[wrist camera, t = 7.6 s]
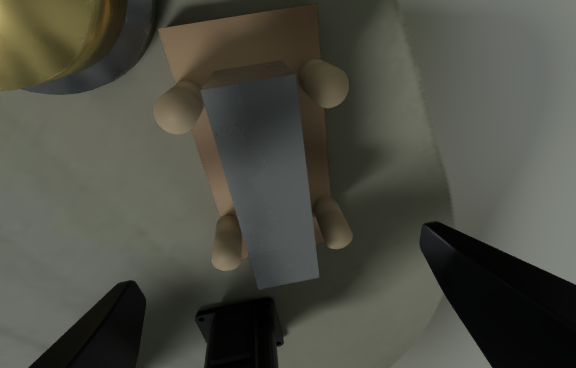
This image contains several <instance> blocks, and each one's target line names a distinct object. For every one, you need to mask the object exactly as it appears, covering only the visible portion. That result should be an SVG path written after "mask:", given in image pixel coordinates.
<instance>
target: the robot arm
mask: <svg viewBox="0 0 576 368" xmlns="http://www.w3.org/2000/svg"><path fill="white" fill-rule="evenodd" d="M420 248H421V251H422V253H423V255H424V257H425V258H426V260H427V262H428V264H429V266H430V268H431V270H432V272H433V274H434V276H435V278H436V280H437V282H438V284H439V285H440V287H441V289H442V291H443V293H444V294H445V296H446V298H447V299H448V301H449V302H450V304H451V305H452V307H453V308H454V310H455V311H456V313H457V315H458V316H459V318H460V319H461V321H462V322H463V324H464V325H465V327H466V328H467V330H468V331H469V333H470V334H471V336H472V337H473V339H474V340H475V342H476V343H477V345H478V347H479V348H480V350H481V351H482V353H483V354H484V356H485V357H486V359H487V360H488V362H489V363H490V365H491V366H492V368H576V285H575V284H573V283H570V282H569V281H566V280H564V279H562V278H560V277H558V276H555V275H553V274H551V273H549V272H547V271H544V270H542V269H540V268H538V267H536V266H534V265H531V264H529V263H527V262H525V261H522V260H521V259H518V258H516V257H514V256H512V255H510V254H508V253H505V252H503V251H501V250H499V249H497V248H494V247H492V246H490V245H488V244H486V243H484V242H481V241H479V240H477V239H475V238H472V237H470V236H468V235H466V234H464V233H462V232H460V231H457V230H455V229H453V228H451V227H449V226H446V225H444V224H442V223H440V222H437V221H433V222H428V223H424V224H423V225H422V229H421V236H420ZM145 308H146V299H145V296H144V294H143V293H142V291H141V290H140V288H139V286H138V285H137V283H136V282H135V281H133V280H130V281H124V282H120V283H118V284H117V285H115V286H114V287H113V288H112V289H111V290H110V291H109V292H108V293H107V294H106V295H105V296H104V297H103V298H102V299H101V300H100V301H99V302H97V303H96V304H95V305H94V306H93V307H92V308H91V309H90V310H89V311H88V312H87V313H86V314H85V315H84V316H83V317H82V318H81V319H79V320H78V321H77V322H76V323H75V324H74V325H73V326H72V327H71V328H70V329H69V330H68V331H67V332H66V333H65V334H64V335H62V336H61V337H60V338H59V339H58V340H57V341H56V342H55V343H54V344H53V345H52V346H51V347H50V348H49V349H48V350H47V351H46V352H44V353H43V354H42V355H41V356H40V357H39V358H38V359H37V360H36V361H35V362H34V363H33V364H32V365H31V366H30V367H29V368H135V366H136V362H137V357H138V352H139V347H140V340H141V334H142V328H143V321H144V315H145ZM195 321H196V323H197V325H198V327H199V329H200V331H201V333H202V335H203V337H204V339H205V341H206V343H207V348H206V356H205V364H204V368H279V367H278V356H277V347H279V346H281V345H283V344H284V340H283V335H282V331H281V328H280V324H279V320H278V316H277V312H276V308H275V304H274V301H273V299H271V298H264V299H259V300H254V301H249V302H245V303H240V304H235V305H230V306H225V307H220V308H215V309H210V310H205V311H200V312H198V313H197V314H196V317H195Z"/></svg>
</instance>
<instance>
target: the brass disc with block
mask: <svg viewBox="0 0 576 368" xmlns="http://www.w3.org/2000/svg"><path fill="white" fill-rule="evenodd" d="M127 7H128V0H0V91H6V90H17V89H21V88H25V87H29V86H33V85H37V84H40V83H44V82H47V81H51V80H55V79H58V78H62V77H65V76H69V75H73V74H76V73H79V72H82V71H84V70H86V69H89V68H90V67H92V66H93V65H95V64H97V63H98V62H99V61H101V60H102V59H103V58H104V57H105V56H106V55H107V54H108V53H109V52H110V50H111V49H112V48H113V46H114V45H115V43H116V41H117V40H118V38H119V36H120V34H121V31H122V28H123V25H124V22H125V18H126V13H127Z"/></svg>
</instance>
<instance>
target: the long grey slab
mask: <svg viewBox="0 0 576 368" xmlns="http://www.w3.org/2000/svg"><path fill="white" fill-rule="evenodd" d="M200 92H201V95H202V99H203V102H204V105H205V109H206V112H207V116H208V119H209V122H210V126H211V129H212V133H213V136H214V140H215V143H216V146H217V150H218V153H219V157H220V160H221V163H222V167H223V170H224V174H225V177H226V181H227V184H228V187H229V191H230V194H231V198H232V201H233V205H234V208H235V211H236V215H237V218H238V222H239V225H240V228H241V232H242V235H243V239H244V242H245V246H246V249H247V252H248V256H249V259H250V263H251V266H252V269H253V273H254V276H255V280H256V283H257V287H258V290H260V289H265V288H270V287H275V286H280V285H285V284H290V283H295V282H300V281H305V280H310V279H315V278H319V269H318V261H317V252H316V244H315V235H314V227H313V218H312V210H311V201H310V193H309V184H308V176H307V167H306V159H305V150H304V142H303V133H302V125H301V116H300V108H299V99H298V91H297V82H296V74H295V73H294V72H293V71H292V70H291V69H290V68H289V67H288V66H287V65H286V64H285V63H284V62H283V61H282V60H278V61H272V62H266V63H260V64H254V65H248V66H242V67H236V68H230V69H224V70H218V71H214V72H213V74H212V75H211V76H210V78H209V79H208V80H207V82H206V83H205V84H204V86H203V87H202V88H201V90H200Z"/></svg>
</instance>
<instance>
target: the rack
mask: <svg viewBox="0 0 576 368" xmlns="http://www.w3.org/2000/svg"><path fill="white" fill-rule="evenodd" d="M158 32H159V35H160V38H161V41H162V44H163V47H164V50H165V53H166V56H167V59H168V62H169V65H170V68H171V71H172V74H173V77H174V80H175V83H176V85H175V86H173V87H172V88H171V89H170V90H169V91H167V92H166V93H165V94H164V95H162V96H161V97H160V98H159V99H158V100H157V101H156V103H155V105H154V109H153V113H154V117H155V120H156V122H157V123H158V125H159V126H160V127H161V128H162V129H164V130H165V131H167V132H169V133H172V134H185V133H187V132H189V131H190V130H191V131H192V134H193V137H194V140H195V143H196V146H197V149H198V152H199V155H200V158H201V161H202V164H203V167H204V170H205V173H206V176H207V179H208V182H209V185H210V188H211V191H212V194H213V197H214V200H215V203H216V206H217V209H218V212H219V215H220V219H219V220H218V222H217V226H216V232H215V239H214V245H213V252H212V258H211V262H212V264H213V266H214V267H216V268H217V269H219V270H223V271H229V270H233V269H235V268H237V267H238V266H239V265H240V264H241V261H242V259H244V258H249V256H248V252H247V249H246V246H245V242H244V239H243V235H242V232H241V228H240V225H239V222H238V218H237V215H236V211H235V208H234V205H233V201H232V198H231V194H230V191H229V187H228V184H227V181H226V177H225V174H224V170H223V167H222V163H221V160H220V157H219V153H218V150H217V146H216V143H215V140H214V136H213V133H212V129H211V126H210V122H209V119H208V116H207V112H206V109H205V105H204V102H203V99H202V95H201V92H200V90H201V88H202V87H203V86H204V84H205V83H206V82H207V80H208V79H209V78H210V76H211V75H212V74H213V72H214V71H218V70H224V69H230V68H236V67H242V66H248V65H254V64H260V63H266V62H272V61H278V60H282V61H283V62H284V63H285V64H286V65H287V66H288V67H289V68H290V69H291V70H292V71H293V72H294V73H295V74H296V82H297V91H298V99H299V108H300V116H301V125H302V133H303V142H304V150H305V159H306V167H307V176H308V184H309V193H310V201H311V210H312V218H313V227H314V235H315V244H321V243H325V244H326V245H327V246H328V247H329V248H332V249H340V248H343V247H345V246H347V245H348V244H349V243H350V242H351V241H352V239H353V233H352V231H351V229H350V227H349V225H348V223H347V221H346V219H345V217H344V215H343V213H342V211H341V209H340V207H339V205H338V203H337V201H336V200H335V199H334V198H332V197H331V191H330V177H329V163H328V150H327V136H326V122H325V108H332V107H335V106H337V105H339V104H340V103H342V102H343V100H344V99H345V98H346V96H347V94H348V91H349V79H348V77H347V75H346V73H345V72H344V71H343V70H341V69H340V68H338V67H336V66H333V65H331V64H329V63H327V62H325V61H322V60H321V52H320V38H319V24H318V10H317V3H315V4H309V5H303V6H297V7H290V8H284V9H278V10H272V11H266V12H259V13H253V14H247V15H241V16H234V17H228V18H222V19H216V20H210V21H203V22H197V23H191V24H185V25H179V26H172V27H166V28H160V29H158Z"/></svg>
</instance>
